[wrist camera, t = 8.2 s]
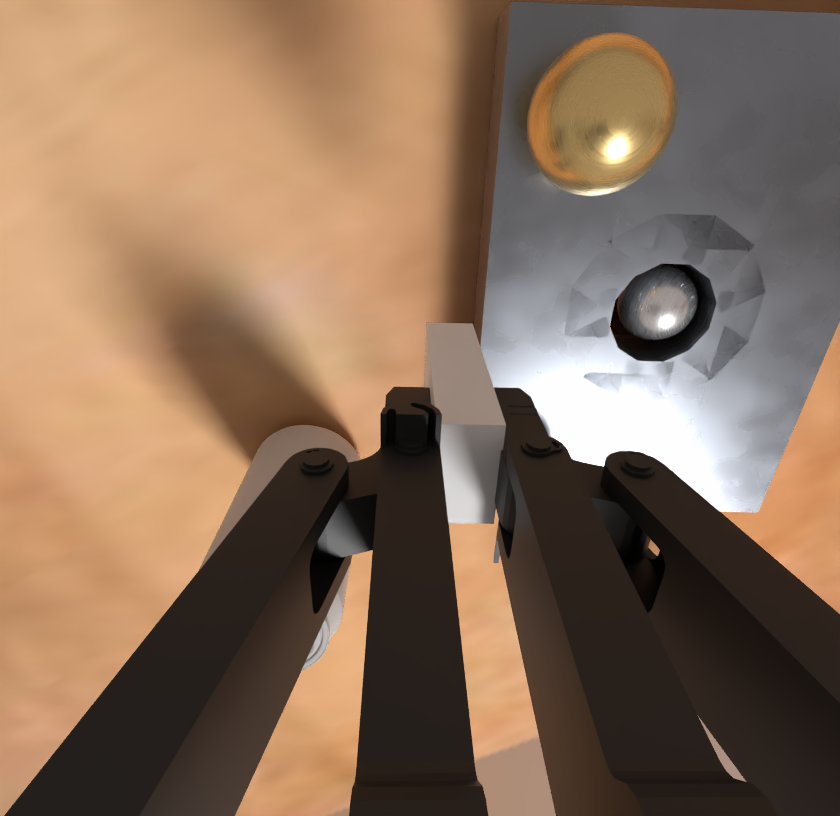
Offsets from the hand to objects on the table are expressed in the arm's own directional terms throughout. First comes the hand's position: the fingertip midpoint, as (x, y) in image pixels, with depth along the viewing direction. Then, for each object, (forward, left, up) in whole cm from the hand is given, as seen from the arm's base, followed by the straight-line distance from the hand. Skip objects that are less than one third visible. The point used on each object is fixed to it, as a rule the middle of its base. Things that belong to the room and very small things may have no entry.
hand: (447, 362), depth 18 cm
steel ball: (+10, 0, -8) cm, 13 cm away
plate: (+10, 0, -10) cm, 14 cm away
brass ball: (+5, +7, -4) cm, 10 cm away
